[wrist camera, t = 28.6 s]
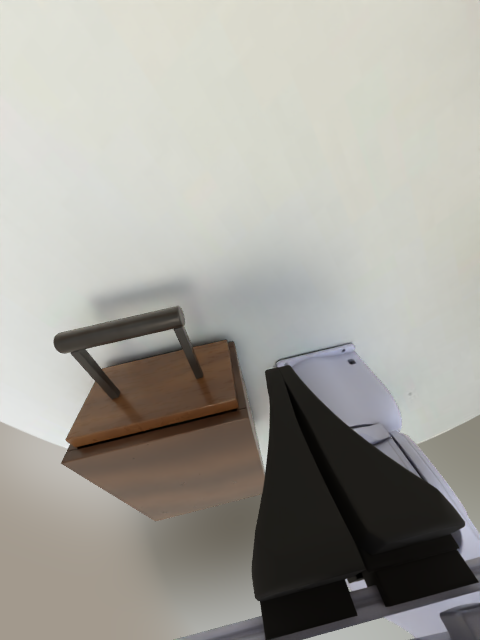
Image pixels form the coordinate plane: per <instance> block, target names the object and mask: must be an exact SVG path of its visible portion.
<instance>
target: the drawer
mask: <svg viewBox="0 0 480 640" xmlns="http://www.w3.org/2000/svg"><path fill="white" fill-rule="evenodd" d="M184 325H185V318H184V314H183V311H182V309H181V307H180V306H176V307H171V308H167V309H162V310H158V311H154V312H149V313H145V314H140V315H136V316H132V317H127V318H123V319H118V320H114V321H110V322H105V323H101V324H96V325H92V326H88V327H83V328H79V329H74V330H70V331H66V332H61V333H58V334H57V335H56V336H55V337H54V346H55V348H56V350H57V351H58V352H60V353H70V352H71V354H72V356H73V357H74V358H75V359H76V360H77V361H78V362H79V363H80V365H81V366H82V367H83V368H84V369H85V370H86V371H87V372H88V373H89V375H90V376H91V377H92V378H93V379H94V380H95V383H94V385H93V387H92V389H91V391H90V393H89V394H88V396H87V398H86V400H85V402H84V404H83V406H82V408H81V410H80V412H79V414H78V416H77V418H76V420H75V422H74V424H73V426H72V428H71V430H70V432H69V434H68V436H67V438H66V441H67V442H68V443H70V444H71V445H72V446H74V447H80V446H84V445H88V444H92V443H96V442H99V444H101V443H105V442H110V441H114V440H118V439H122V438H126V437H130V436H134V435H138V434H143V433H145V432H146V430H150V429H154V428H158V427H162V426H166V425H170V424H174V423H179V422H183V421H187V420H191V419H195V418H199V417H203V416H207V415H212V414H216V413H219V415H221V414H225V413H229V412H233V411H237V408H239V405H238V399H237V393H236V387H235V381H234V374H233V368H232V362H231V356H230V350H229V346H228V342H227V340H222V341H218V342H214V343H209V344H205V345H201V346H197V347H192V344H191V342H190V340H189V337H188V335H187V332H186V330H185V327H184ZM170 329H174V331H175V333H176V335H177V338H178V340H179V342H180V344H181V347H182V349H183V350H179V351H175V352H171V353H167V354H162V355H158V356H154V357H149V358H145V359H141V360H137V361H132V362H128V363H124V364H119V365H115V366H111V367H106V368H102V369H101V368H100V366H99V365H98V364H97V363H96V362H95V360H94V359H93V358H92V357H91V356H90V354H89V353H88V352H87V351H86V349H87V348H92V347H96V346H100V345H105V344H109V343H113V342H118V341H122V340H126V339H131V338H135V337H139V336H144V335H148V334H152V333H157V332H161V331H165V330H170Z"/></svg>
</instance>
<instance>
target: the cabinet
mask: <svg viewBox="0 0 480 640" xmlns="http://www.w3.org/2000/svg"><path fill="white" fill-rule="evenodd" d="M228 346H229V350H230V356H231V362H232V368H233V374H234V381H235V387H236V393H237V399H238V405H239V408H237V411H233V412H229V413H225V414H221V415H217V416H213V417H208V418H204V419H200V420H196V421H192V422H188V423H184V424H180V425H175V426H171V427H167V428H163V429H159V430H155V431H151V432H147V433H143V434H138V435H134V436H130V437H126V438H122V439H118V440H114V441H110V442H105V443H101V444H99V442H96V443H92V444H88V445H84V446H80V447H74V446H72V445H71V444H70V446H69V448H68V450H67V452H66V454H65V456H64V458H63V460H62V463H61V464H63V465H64V466H66V467H68V468H69V469H71V470H73V471H74V472H76V473H77V474H79V475H81V476H82V477H84V478H86V479H87V480H89V481H90V482H92V483H94V484H95V485H97V486H99V487H100V488H102V489H104V490H105V491H107V492H108V493H110V494H112V495H113V496H115V497H117V498H118V499H120V500H122V501H123V502H125V503H127V504H128V505H130V506H131V507H133V508H135V509H136V510H138V511H139V512H141V513H143V514H144V515H146V516H148V517H149V518H151V519H153V520H154V521H158V520H163V519H166V518H170V517H174V516H178V515H182V514H186V513H190V512H194V511H198V510H201V509H206V508H209V507H214V506H217V505H221V504H225V503H229V502H233V501H237V500H241V499H245V498H249V497H252V496H257V495H260V494H262V492H263V485H264V479H265V470H264V465H263V461H262V456H261V452H260V447H259V442H258V438H257V433H256V429H255V424H254V420H253V416H252V412H251V408H250V404H249V400H248V396H247V392H246V388H245V384H244V380H243V376H242V372H241V368H240V364H239V360H238V356H237V352H236V348H235V344H234V342H229V343H228Z"/></svg>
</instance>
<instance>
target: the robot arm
mask: <svg viewBox="0 0 480 640" xmlns="http://www.w3.org/2000/svg"><path fill="white" fill-rule="evenodd" d="M284 363H285V364H284ZM276 365H277V368H273V369H269V370H266V371H265V375H266V381H267V388H268V393H269V399H270V429H269V444H268V455H267V464H266V472H265V479H264V485H263V492H262V498H261V504H260V509H259V514H258V520H257V525H256V530H255V539H254V550H253V560H252V579H253V587H254V594H255V598H256V599H257V600H258V601H260V604H261V612H262V616H259V617H256V618H252V619H248V620H245V621H241V622H238V623H234V624H230V625H226V626H222V627H219V628H215V629H211V630H208V631H204V632H200V633H197V634H193V635H190V636H186V637H182V638H178V639H174V640H303V639H306V638H310V637H313V636H317V635H321V634H324V633H328V632H332V631H335V630H339V629H342V628H346V627H349V626H353V625H357V624H360V623H364V622H367V621H371V620H375V619H379V618H382V617H383V618H386V619H387V620H389V621H391V622H392V623H394V624H396V625H398V626H399V627H401V628H403V629H404V630H406V631H407V632H409V633H410V634H411V635H413V636H414V637H415V639H410V640H480V533H479V532H478V530H477V529H476V528H475V526H474V525H473V523H472V522H471V520H470V519H469V517H468V514H467V512H466V510H465V508H464V506H463V505H462V503H461V502H460V500H459V499H458V497H457V496H456V495H455V493H454V492H453V491H452V489H451V488H450V486H449V485H448V484H447V482H446V481H445V479H444V478H443V477H442V475H441V474H440V473H439V472H438V470H437V469H436V468H435V466H434V465H433V464H432V463H431V461H430V460H429V459H428V458H427V457H426V455H425V454H424V453H423V452H422V450H421V449H420V448H419V447H418V446H417V445H416V444H415V442H414V441H413V440H412V439H411V438H410V437H409V436H408V435H406V434H403V433H399V432H400V430H401V427H402V417H401V413H400V410H399V408H398V406H397V403H396V401H395V400H394V398H393V396H392V395H391V393H390V392H389V390H388V389H387V388H386V387H385V386H384V384H383V383H382V382H381V381H380V380H379V379H378V378H377V376H376V375H375V374H374V373H373V372H372V371H371V370H370V368H369V367H368V366H367V365H366V364H365V363H364V361H363V360H362V359H361V358H360V357H359V356H358V355H357V353H356V352H355V345H354V344H347V345H343V346H339V347H334V348H330V349H326V350H322V351H318V352H313V353H309V354H305V355H301V356H297V357H292V358H288V359H284V360H280V361H278V362H277V364H276ZM391 437H392V438H391ZM393 440H394V441H393ZM347 586H348V587H349V588H350V589H351V591H352V592H349V590H348V587H347Z"/></svg>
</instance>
